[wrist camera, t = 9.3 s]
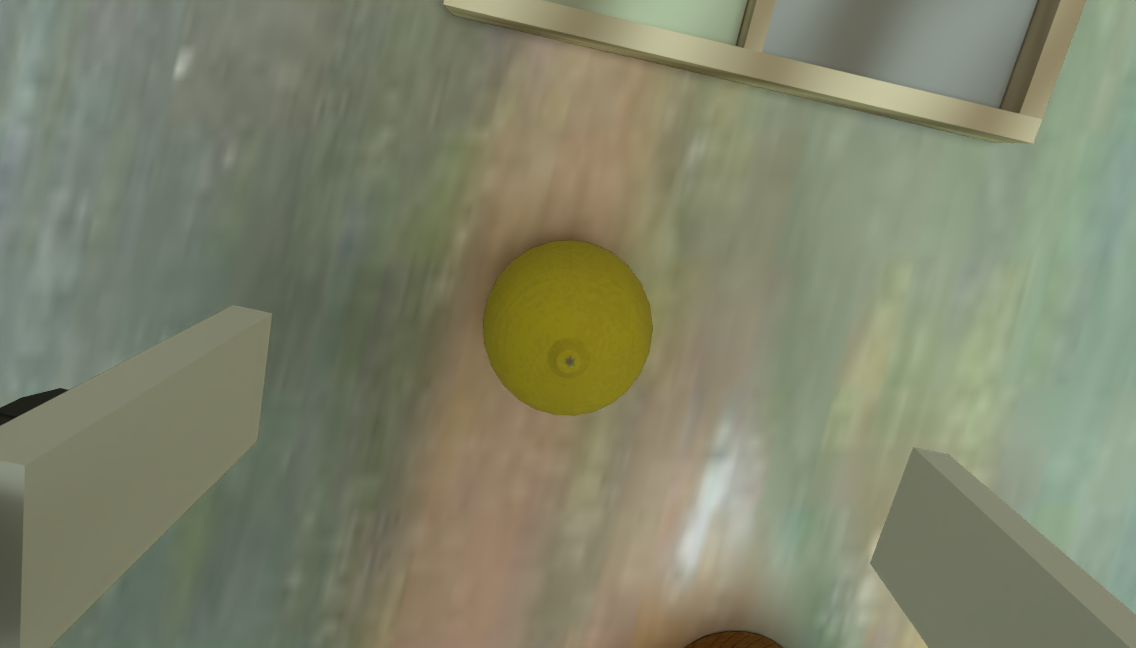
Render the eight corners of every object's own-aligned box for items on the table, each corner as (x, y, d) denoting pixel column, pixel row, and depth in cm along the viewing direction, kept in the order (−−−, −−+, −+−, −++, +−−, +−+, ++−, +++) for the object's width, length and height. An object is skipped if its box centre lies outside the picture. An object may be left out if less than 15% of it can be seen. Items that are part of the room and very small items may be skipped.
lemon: (634, 370, 29) (660, 457, 21) (492, 364, 28) (467, 450, 21) (644, 229, 27) (677, 267, 19) (496, 222, 27) (469, 258, 19)
